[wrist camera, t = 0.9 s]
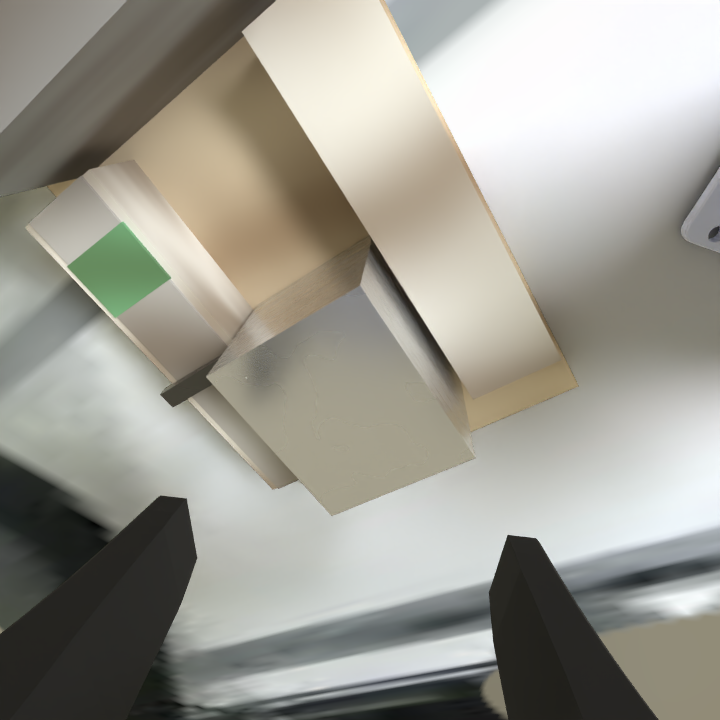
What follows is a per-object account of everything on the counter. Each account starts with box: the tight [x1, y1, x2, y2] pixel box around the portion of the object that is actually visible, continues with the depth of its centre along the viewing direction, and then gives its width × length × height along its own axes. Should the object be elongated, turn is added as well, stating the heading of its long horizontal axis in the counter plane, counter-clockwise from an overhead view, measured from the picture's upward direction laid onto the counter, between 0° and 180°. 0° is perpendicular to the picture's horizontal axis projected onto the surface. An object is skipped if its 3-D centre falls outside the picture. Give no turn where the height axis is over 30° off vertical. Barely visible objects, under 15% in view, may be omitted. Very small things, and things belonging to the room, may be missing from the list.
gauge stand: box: [0, 0, 579, 489], centre depth 14 cm, size 20×12×7 cm, turn 33°
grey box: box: [160, 235, 476, 516], centre depth 15 cm, size 6×8×5 cm
